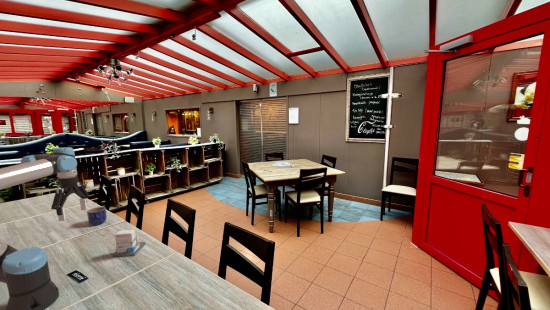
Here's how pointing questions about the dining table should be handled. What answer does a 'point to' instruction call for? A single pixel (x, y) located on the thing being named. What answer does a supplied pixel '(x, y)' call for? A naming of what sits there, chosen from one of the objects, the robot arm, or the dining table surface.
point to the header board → (139, 247)
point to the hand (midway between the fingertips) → (73, 214)
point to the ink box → (126, 241)
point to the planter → (97, 215)
